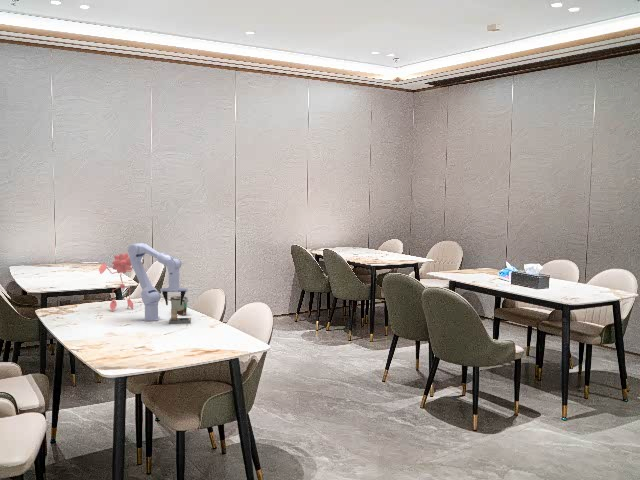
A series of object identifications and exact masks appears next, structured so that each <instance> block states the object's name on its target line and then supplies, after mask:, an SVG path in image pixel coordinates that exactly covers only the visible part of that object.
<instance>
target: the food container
mask: <svg viewBox="0 0 640 480" xmlns="http://www.w3.org/2000/svg"><path fill="white" fill-rule="evenodd" d="M169 298H170V299H169V300H170V304H171V305H170V307H171V309H172V308H177V314H178V315H177V316H182V317H184V316H187V309H188V308H187V307H188V302H189V298H188V297H187V296H184V298H183V301H182V305H180V303H181V295H178V296H177V295H175V296H170V297H169Z"/></svg>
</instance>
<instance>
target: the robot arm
mask: <svg viewBox="0 0 640 480" xmlns="http://www.w3.org/2000/svg"><path fill="white" fill-rule="evenodd" d="M127 253H128V256H129V257H130V262H131V266H132V267H133V268H132V267H131V268H132V270H133V272H134V273H135V276H136V278H137V280H138V283H139V286H140V288H141V289H142V290H141V292H140V295H141V301H142V303H143V305H144V317H143V318H144V319H143V322H154V321H155V322H157V321H159V320H160V316H159V303H160V300H161V297H162V296H163V298H164V301H165V305H166V306H168V305H169V301H168V294H169V293H180V296H181V303H180V305H182V301H183V298H184V297H185V296H186V293H188V291H189V290H188V287H180V268H182V261H181V260H180V258H177V257H176V258H174V257H173V256H171V255H168V253H167V252H159V251H158V250H156V249H154V248H153V247H151V246H150V245H149V244H148V243H145V242H140V243H131V244H130V245H129V246H128V249H127ZM146 254H147V255H149V256H151V257H153V258H155V259H157V262H158V263H160V264H161V265H163V266H165V267H166V268H167V272H168V287H165V288H164V287H163V288H160V290H159V291H158V290H157V288H156V287H155V286H153V284H152V282H151V280H150V278H149V276H148V273H147V271H146V269H145V266H144V264H143V263H142V260H143V257H144V256H145V255H146ZM142 264H143V265H142ZM143 266H144V267H143ZM161 293H162V296H161Z"/></svg>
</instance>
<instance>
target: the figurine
mask: <svg viewBox="0 0 640 480" xmlns="http://www.w3.org/2000/svg"><path fill="white" fill-rule="evenodd" d="M113 258H114V260H113V261H112V262H111V263H112V265H113V266H112V269H113V270H116V271H115V272H112V271H111V270H110V269H109V268H108V266H107V265H106V263H103V264H101V265H100V266H99V269H98V272H99V274H101V275H102V274H103V273H104V272H105V271H106V269H107V270H108V272H109V273H110V274H111V275H113V274H116V273H117V274H120V276H119V277H120V280H121V284H119V286H118V287H116V288H115V289H113V290H112V292H111V293H114V291H115V290H117V289H120V288H121V289H124V288H126V289H128V290H130V287H127V286H125V284H124V283H123V278H122V273H123V274H126V273H127V272H129V273H130V272H131V271H132V270H133V267H131V266H132V265H131V262H130V256H129V253H128V252H125V253H124V254H123V253H119V255H118V254H115V255H114V257H113ZM142 265H143V267H144V268H145V266H144V264H143V263H142ZM128 293H129V295H128V296H129V298H128V299H127V301H126V302H127V309H129V308H131V309H132V310H134V302H133V301H132V300H131V291H129V292H128ZM114 297H115V296H114V295H112V300H111V301H110V304H109V308H110V310H111V312H113V311H115V309H117V305H118V303H117V300H115V298H114ZM139 311H141V310H136V311H135V313H137V312H139ZM129 314H131V312H129Z"/></svg>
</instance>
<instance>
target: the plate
mask: <svg viewBox="0 0 640 480" xmlns="http://www.w3.org/2000/svg"><path fill="white" fill-rule="evenodd" d="M191 322H192V317H177V320H171V317H170V318H169V320H168V324H169V325H177V324H178V325H181V324H182V325H183V324H185V325H186V324H191Z"/></svg>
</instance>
